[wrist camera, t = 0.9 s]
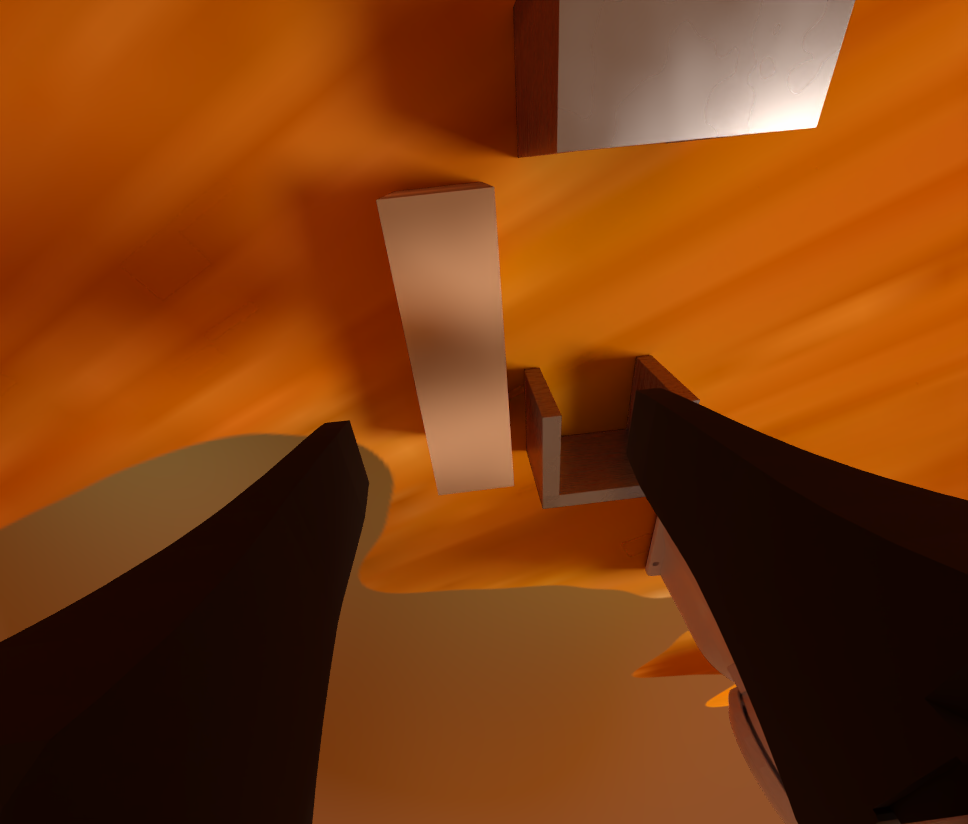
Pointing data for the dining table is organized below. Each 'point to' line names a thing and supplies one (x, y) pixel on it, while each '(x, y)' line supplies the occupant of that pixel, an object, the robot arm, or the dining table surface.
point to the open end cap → (585, 444)
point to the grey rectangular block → (669, 69)
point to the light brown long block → (453, 328)
